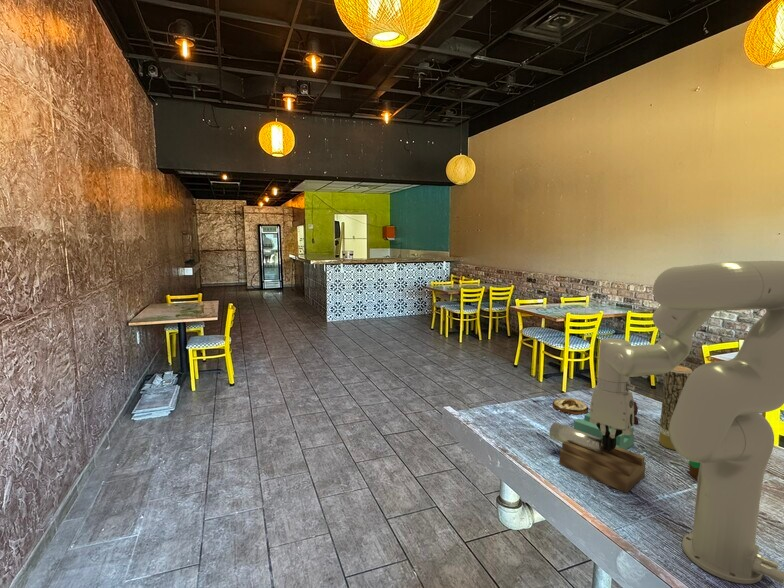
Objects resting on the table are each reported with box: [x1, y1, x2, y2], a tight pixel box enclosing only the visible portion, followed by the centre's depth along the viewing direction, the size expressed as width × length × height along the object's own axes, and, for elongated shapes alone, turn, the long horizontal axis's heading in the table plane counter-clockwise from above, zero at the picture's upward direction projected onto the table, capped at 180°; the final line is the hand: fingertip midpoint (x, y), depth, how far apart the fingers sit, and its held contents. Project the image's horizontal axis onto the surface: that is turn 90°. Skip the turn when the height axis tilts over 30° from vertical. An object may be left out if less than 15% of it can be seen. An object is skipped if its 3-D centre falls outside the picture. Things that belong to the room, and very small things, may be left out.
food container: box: [688, 460, 701, 482], centre depth 111 cm, size 12×6×10 cm, turn 141°
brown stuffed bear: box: [633, 400, 639, 425], centre depth 149 cm, size 7×7×15 cm
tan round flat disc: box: [552, 397, 589, 416], centre depth 157 cm, size 15×15×4 cm
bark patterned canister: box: [658, 365, 693, 451], centre depth 126 cm, size 7×7×25 cm
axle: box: [548, 421, 604, 455], centre depth 119 cm, size 14×5×5 cm, turn 39°
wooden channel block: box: [558, 441, 647, 494], centre depth 114 cm, size 18×12×6 cm, turn 39°
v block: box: [573, 412, 635, 450], centre depth 130 cm, size 14×12×6 cm
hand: (608, 448), depth 112 cm, fingers closed
